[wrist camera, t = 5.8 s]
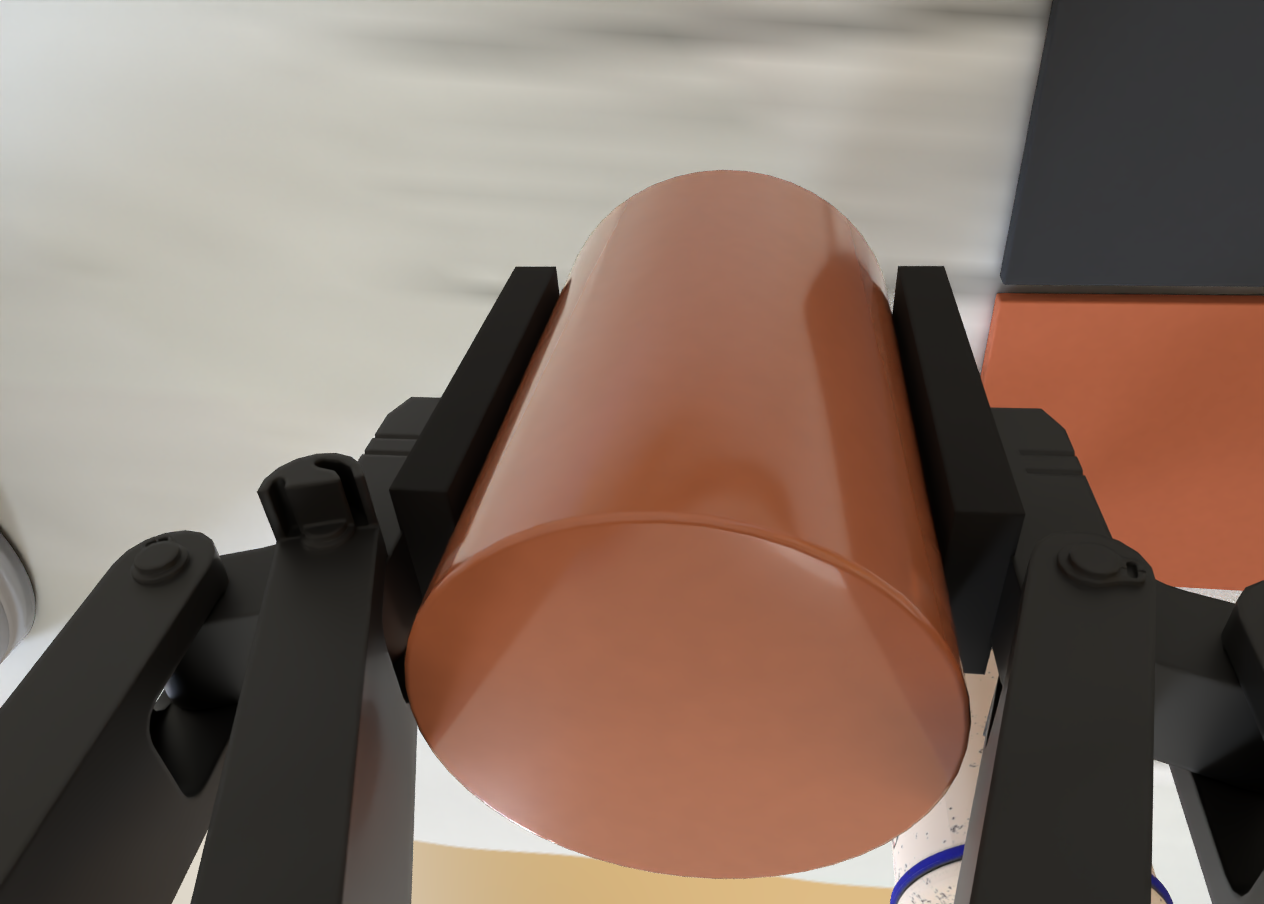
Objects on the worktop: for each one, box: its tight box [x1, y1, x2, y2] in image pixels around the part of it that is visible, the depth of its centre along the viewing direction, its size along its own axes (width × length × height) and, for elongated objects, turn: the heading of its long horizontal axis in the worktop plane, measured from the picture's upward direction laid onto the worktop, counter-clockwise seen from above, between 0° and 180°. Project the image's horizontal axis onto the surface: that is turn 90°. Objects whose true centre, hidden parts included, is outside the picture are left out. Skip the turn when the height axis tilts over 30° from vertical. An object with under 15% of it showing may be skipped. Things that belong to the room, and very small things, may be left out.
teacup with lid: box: [890, 650, 1173, 904], centre depth 34 cm, size 12×9×12 cm
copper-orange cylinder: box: [404, 170, 971, 879], centre depth 13 cm, size 6×6×9 cm
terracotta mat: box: [981, 293, 1264, 591], centre depth 28 cm, size 14×11×1 cm
